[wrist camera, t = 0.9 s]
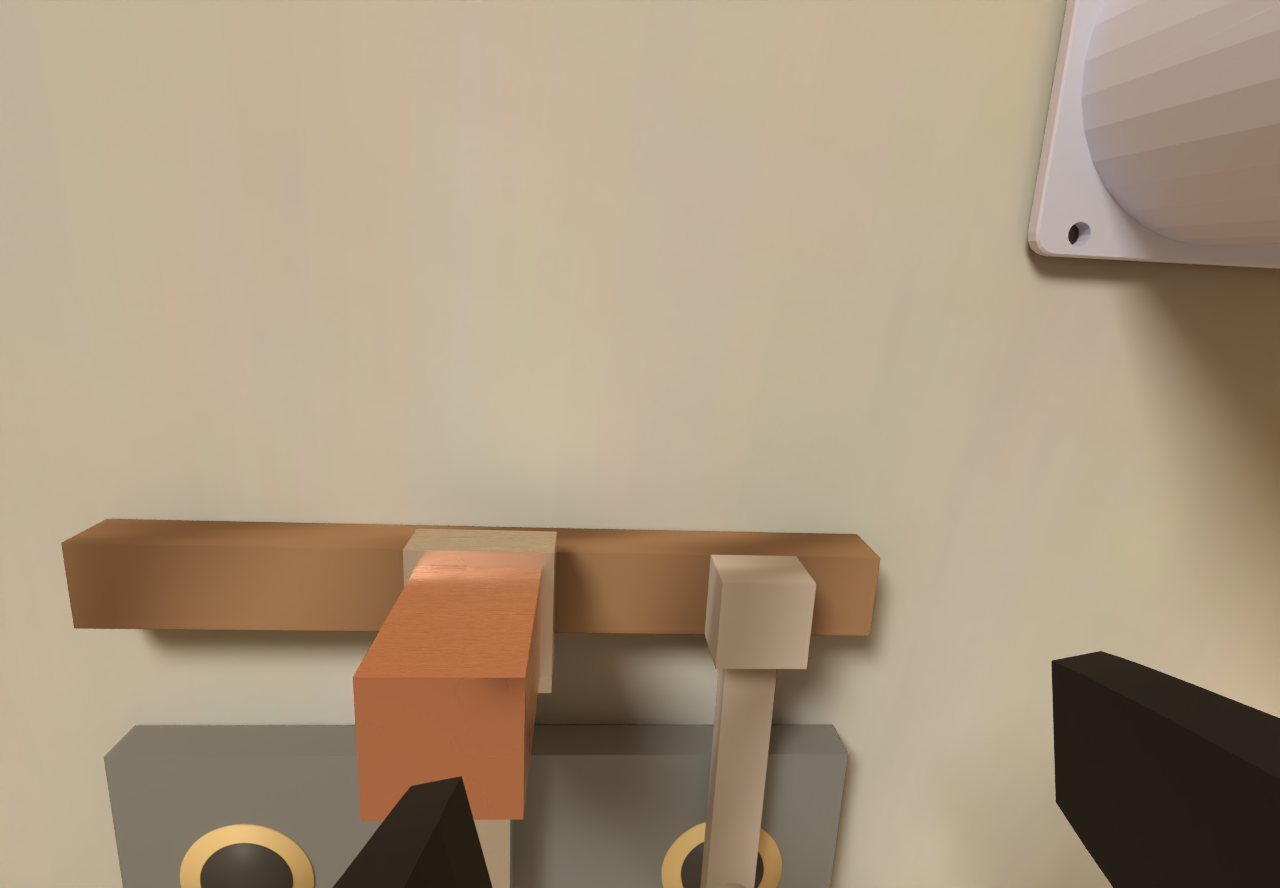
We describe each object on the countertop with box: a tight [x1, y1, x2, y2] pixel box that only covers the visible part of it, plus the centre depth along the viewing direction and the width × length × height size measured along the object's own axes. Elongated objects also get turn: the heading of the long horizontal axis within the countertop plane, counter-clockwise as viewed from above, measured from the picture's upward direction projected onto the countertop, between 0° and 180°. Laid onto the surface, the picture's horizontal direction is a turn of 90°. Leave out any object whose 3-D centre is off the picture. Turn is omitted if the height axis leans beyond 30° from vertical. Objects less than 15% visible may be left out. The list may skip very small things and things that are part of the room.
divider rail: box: [61, 519, 880, 888], centre depth 17 cm, size 18×10×3 cm, turn 87°
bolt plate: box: [104, 725, 848, 888], centre depth 19 cm, size 18×7×1 cm, turn 87°
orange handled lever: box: [353, 529, 557, 888], centre depth 14 cm, size 3×10×6 cm, turn 177°
